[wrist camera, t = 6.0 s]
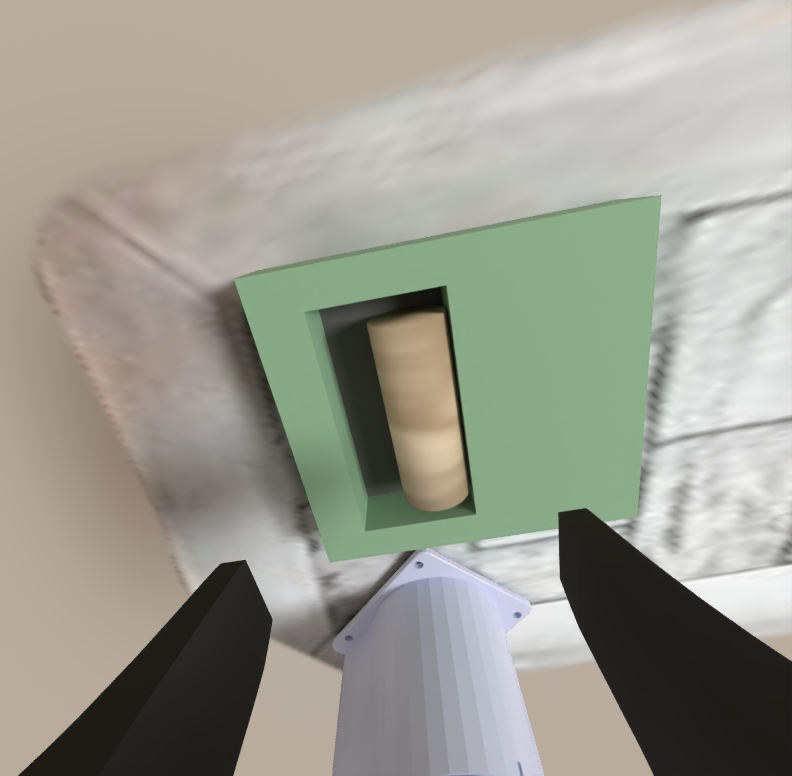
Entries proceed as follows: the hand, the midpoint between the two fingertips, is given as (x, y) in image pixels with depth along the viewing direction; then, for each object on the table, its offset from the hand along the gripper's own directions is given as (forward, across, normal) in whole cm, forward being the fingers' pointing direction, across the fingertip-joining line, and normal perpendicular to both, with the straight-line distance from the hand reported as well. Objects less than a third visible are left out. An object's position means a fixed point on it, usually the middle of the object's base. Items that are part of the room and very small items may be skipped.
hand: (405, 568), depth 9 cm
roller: (+8, -1, 0) cm, 8 cm away
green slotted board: (+9, -2, 0) cm, 10 cm away
